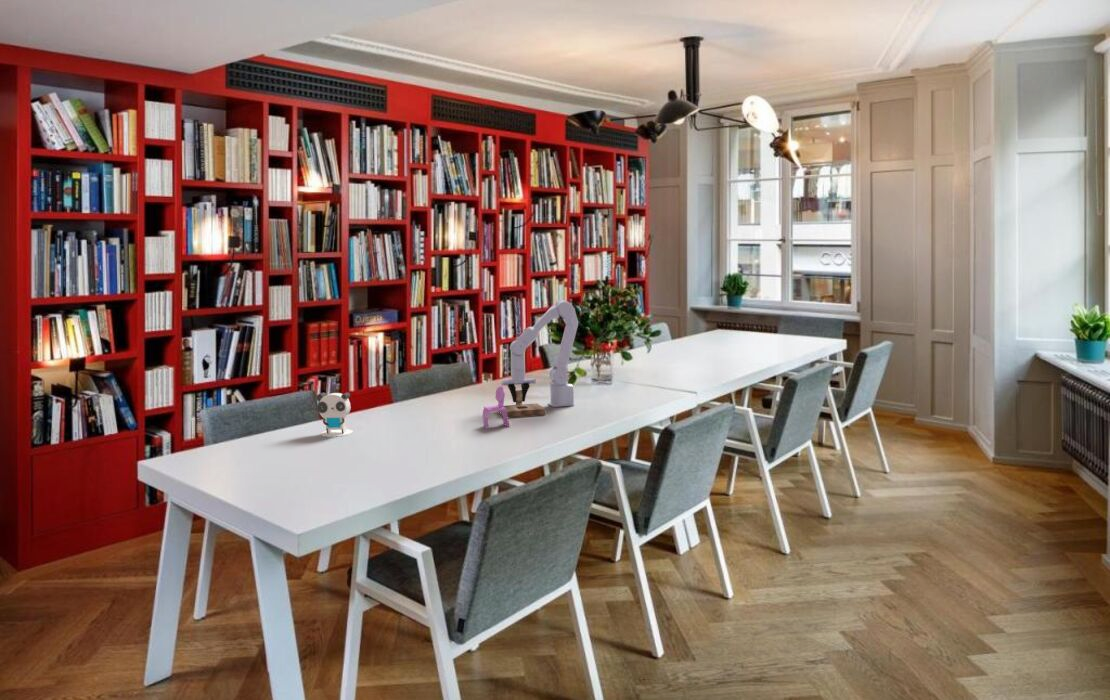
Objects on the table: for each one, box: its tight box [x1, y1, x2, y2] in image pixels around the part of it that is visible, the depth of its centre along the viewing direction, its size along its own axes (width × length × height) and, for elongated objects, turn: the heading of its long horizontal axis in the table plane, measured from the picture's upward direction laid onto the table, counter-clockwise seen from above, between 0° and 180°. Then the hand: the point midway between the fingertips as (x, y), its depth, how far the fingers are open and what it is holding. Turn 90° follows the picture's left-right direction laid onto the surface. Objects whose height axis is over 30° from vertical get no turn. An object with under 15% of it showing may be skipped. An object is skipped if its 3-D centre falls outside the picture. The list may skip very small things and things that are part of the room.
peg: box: [515, 389, 524, 405], centre depth 341 cm, size 3×3×7 cm
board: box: [498, 403, 546, 418], centre depth 328 cm, size 16×12×2 cm
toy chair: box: [482, 385, 511, 430], centre depth 305 cm, size 8×9×15 cm
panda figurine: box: [316, 392, 353, 438], centre depth 298 cm, size 12×11×15 cm
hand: (518, 401), depth 341 cm, fingers closed on peg, 3 cm apart
